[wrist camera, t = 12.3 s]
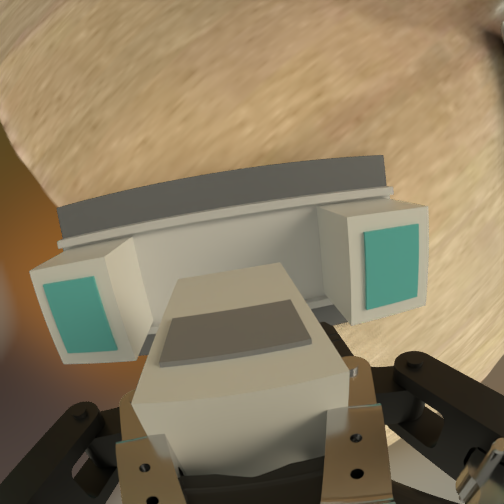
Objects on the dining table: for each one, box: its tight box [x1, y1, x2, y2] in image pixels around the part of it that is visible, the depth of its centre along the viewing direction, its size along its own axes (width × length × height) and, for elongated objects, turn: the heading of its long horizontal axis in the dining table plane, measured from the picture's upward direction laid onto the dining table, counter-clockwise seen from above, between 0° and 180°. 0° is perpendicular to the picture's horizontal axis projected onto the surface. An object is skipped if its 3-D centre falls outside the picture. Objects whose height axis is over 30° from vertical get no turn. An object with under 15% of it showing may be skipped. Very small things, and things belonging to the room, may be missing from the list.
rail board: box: [29, 155, 429, 364], centre depth 21 cm, size 14×27×8 cm, turn 98°
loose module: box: [131, 262, 350, 477], centre depth 10 cm, size 6×4×8 cm
